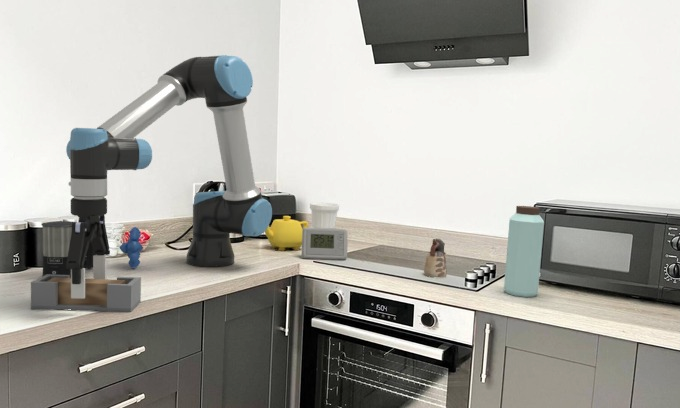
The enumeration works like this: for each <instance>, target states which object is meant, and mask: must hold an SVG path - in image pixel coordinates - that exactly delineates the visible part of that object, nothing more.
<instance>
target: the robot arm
mask: <svg viewBox="0 0 680 408" xmlns="http://www.w3.org/2000/svg"><path fill="white" fill-rule="evenodd" d="M253 81H254V80H253V74H252V72H251V69H250V67H249V65H248V64H247V63H246V62H245V61H244V59H242V58H240V57H238V56H235V55H226V54H225V55H224V54H221V55H212V56H211V55H210V56H195V57H191V58H188V59H186V60H183V61H182V62H180V63H179V64H177V65H175V66H174V67H172V68H171V69H169V70H168V71H166V72H165V73H163V74H162V75H161V76H159V77H158V79H157V83H156V84H155V85H154V86H152V87H150V88H149V89H148V90H146V91H145V92H144V93H143V94H141V95H140V96H139V97H137V98H136V99H134V100H133V101H132V102H131V103H129V104H127V105H126V106H124V107H123V108H122V109H121V110H120V111H118V112H117V113H115V114H114V115H113V116H111V117H109V118H108V119H107V120H105V122H104V121H103V123H101V124H100V125H99V126H97V127H95V128H92V127H91V128H89V127H74V128H72V130H71V131H70V137H69V141H68V142H67V145H66V152H65V153H66V156H67V158H68V159H69V161H70V163H69V164H70V171H69V172H70V181H69V182H68V186H69V187H70V196H72V198H71V199H70V215H72V216H74V217H75V216H76V217H78V220H77V221H78V222H77V221H72V222H73V223H72V234H71V240H70V245H69V251H68V257H67V262H66V269H71V298H82V299H84V298H85V279H86V268H83V266H84V262H85V260H86V254H87V250H88V247H89V243H90V242H91V244H92V247H93V250H94V252H95V254H96V255H94V256H93V268H92V270H93V271H92V272H93V273H92V279H107V256H109V255H110V254H111V250H110V245H109V243H110V242H109V239H108V234H107V233H108V232H107V227H106V220H105V219H106V217H105V215H107V213H108V199H107V198H106V197H107V196H108V171H129V170H131V171H137V170H145V169H146V168H148V167H149V166H150V165H151V163H152V160H153V149H152V146H151V144H150V143H149V142H148V141H147V140H146V139H143V138H136V137H137V136H138V135H139V134H140V133H142V132H143V131H144V130H146V129H147V128H148V127H150V126H151V125H152V124H153V123H155V122H156V121H157V120H158V119H160V118H161V117H162V116H164V115H165V114H166V113H167V112H169V111H170V110H171V109H173V108H174V107H175V106H177V107H178V106H183V104H185V103H186V102H188V101H191V100H194V99H201V98H202V99H204V100H205V105H206V108H207V109H208V110H210V111H211V112H212V113H213V120H214V124H215V125H214V126H215V131H216V135H217V142H218V148H219V152H220V153H219V154H220V159H221V164H222V171H223V177H224V181H225V186H226V190H218V191H217V190H216V191H201V192H197V193H195V195H194V196H193V204H192V239H191V243H190V245H189V247H188V250H187V253H186V257H185V258H186V262H185V263H187V264H188V265H191V266H195V267H208V268H209V267H211V268H213V267H225V266H231V265H234V264H235V253H234V249H233V246H232V242H231V238H230V237H231V234H233V235H240V236H245V237H259V236H261V235H262V234H264V233H265V231H266V229H267V228H268V226H269V227H270V224H271V221H272V217H273V208H272V205H271V202H269V200H267V199H265V198H263V195H262V189H261V188H260V187H258V186H257V185H256V183H255V177H254V172H253V166H252V165H253V164H252V158H251V152H250V150H251V149H250V144H249V139H248V132H247V126H246V119H245V113H244V107H245V106H246V104H247V103H248V98H247V97H248V96H249V95H250V94H251V92H252V88H253V85H254V83H253Z"/></svg>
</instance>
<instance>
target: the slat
mask: <svg viewBox="0 0 680 408" xmlns="http://www.w3.org/2000/svg"><path fill="white" fill-rule="evenodd" d="M46 282H58V304H77V305H106V306H107V285H108V284H125V280H117V279H107V278H106V279H93V278H85V298H84V299H82V298H71V278H56V277H54V278H52V279H50V280H48V281H46Z"/></svg>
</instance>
